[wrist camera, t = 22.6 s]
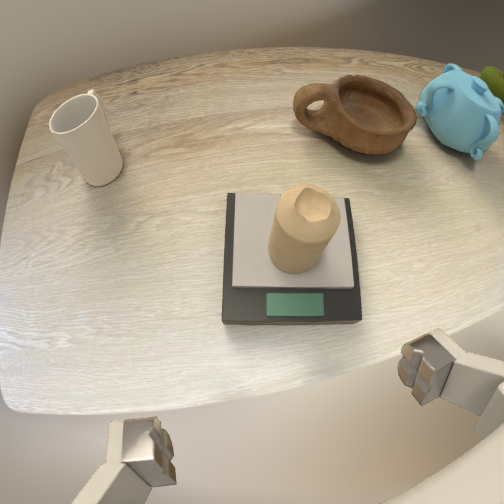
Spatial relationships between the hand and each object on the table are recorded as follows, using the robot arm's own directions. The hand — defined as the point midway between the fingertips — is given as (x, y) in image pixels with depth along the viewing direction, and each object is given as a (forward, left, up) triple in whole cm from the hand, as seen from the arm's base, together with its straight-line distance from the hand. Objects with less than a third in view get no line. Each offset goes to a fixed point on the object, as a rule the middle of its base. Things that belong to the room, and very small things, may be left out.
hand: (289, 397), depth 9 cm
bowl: (+34, -14, -25) cm, 45 cm away
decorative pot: (+40, -37, -25) cm, 60 cm away
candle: (+13, -4, -22) cm, 26 cm away
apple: (+57, -59, -25) cm, 86 cm away
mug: (+28, +22, -25) cm, 44 cm away
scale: (+13, -4, -25) cm, 28 cm away
